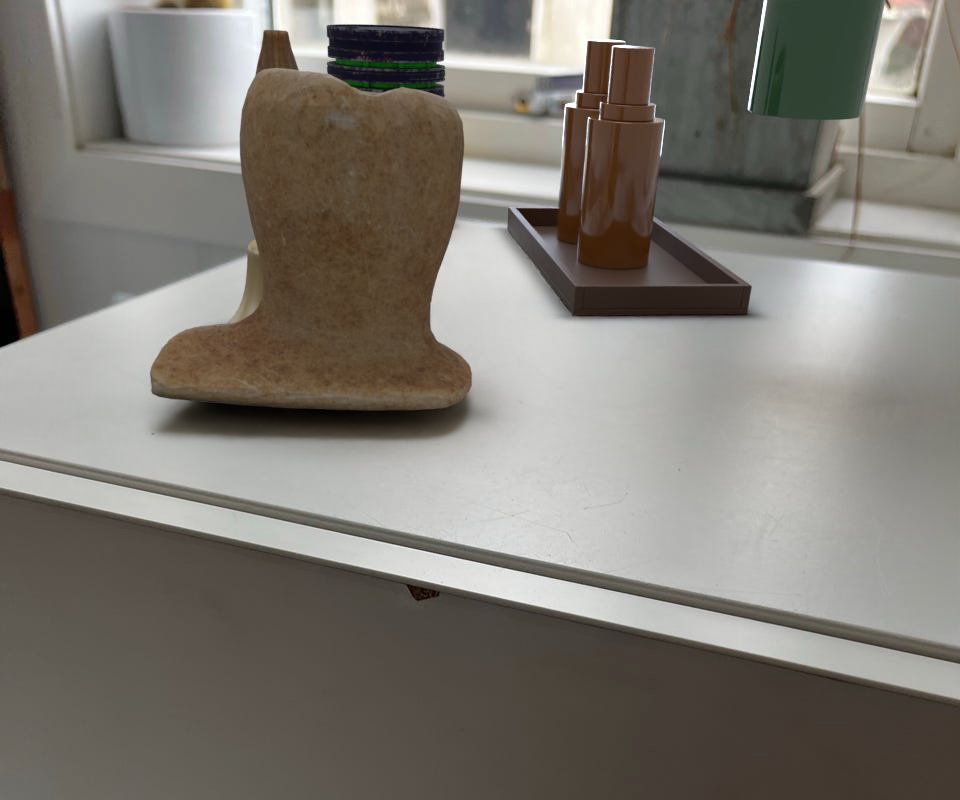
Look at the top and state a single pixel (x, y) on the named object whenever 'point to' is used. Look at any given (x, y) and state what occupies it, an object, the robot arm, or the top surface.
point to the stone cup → (336, 254)
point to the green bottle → (814, 58)
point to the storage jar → (387, 57)
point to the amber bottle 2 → (621, 167)
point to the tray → (630, 273)
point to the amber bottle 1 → (581, 135)
